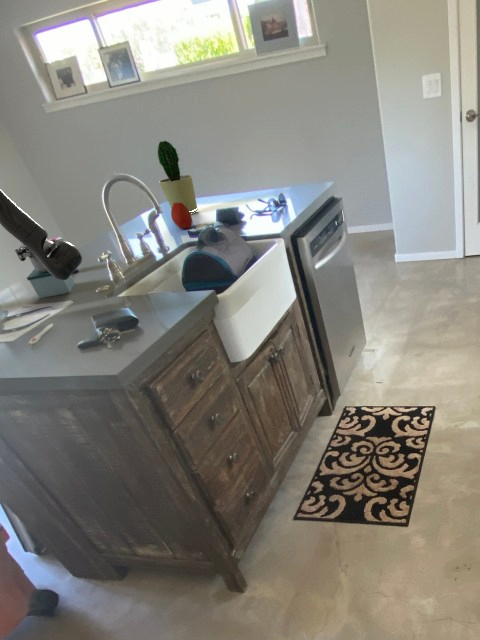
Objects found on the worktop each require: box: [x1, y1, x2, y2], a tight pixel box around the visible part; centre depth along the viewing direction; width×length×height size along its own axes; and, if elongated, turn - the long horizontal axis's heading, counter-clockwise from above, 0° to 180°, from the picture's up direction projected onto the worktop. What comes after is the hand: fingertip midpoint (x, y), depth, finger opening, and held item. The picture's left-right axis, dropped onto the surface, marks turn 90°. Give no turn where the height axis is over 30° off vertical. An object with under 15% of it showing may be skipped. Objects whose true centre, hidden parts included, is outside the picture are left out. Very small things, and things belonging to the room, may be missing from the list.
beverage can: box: [20, 242, 48, 273], centre depth 169 cm, size 6×6×12 cm
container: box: [26, 268, 76, 299], centre depth 176 cm, size 11×11×7 cm
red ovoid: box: [170, 201, 193, 230], centre depth 225 cm, size 8×8×11 cm
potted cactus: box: [155, 139, 199, 214], centre depth 244 cm, size 15×15×30 cm
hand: (33, 246), depth 170 cm, fingers closed on beverage can, 6 cm apart
